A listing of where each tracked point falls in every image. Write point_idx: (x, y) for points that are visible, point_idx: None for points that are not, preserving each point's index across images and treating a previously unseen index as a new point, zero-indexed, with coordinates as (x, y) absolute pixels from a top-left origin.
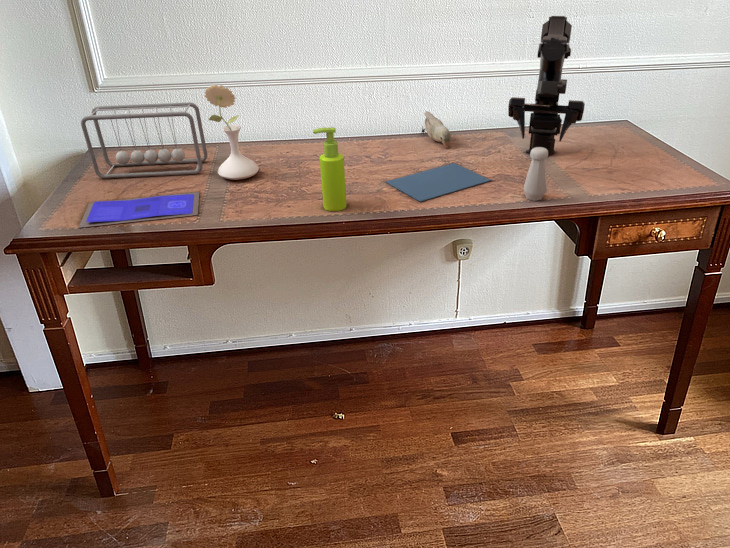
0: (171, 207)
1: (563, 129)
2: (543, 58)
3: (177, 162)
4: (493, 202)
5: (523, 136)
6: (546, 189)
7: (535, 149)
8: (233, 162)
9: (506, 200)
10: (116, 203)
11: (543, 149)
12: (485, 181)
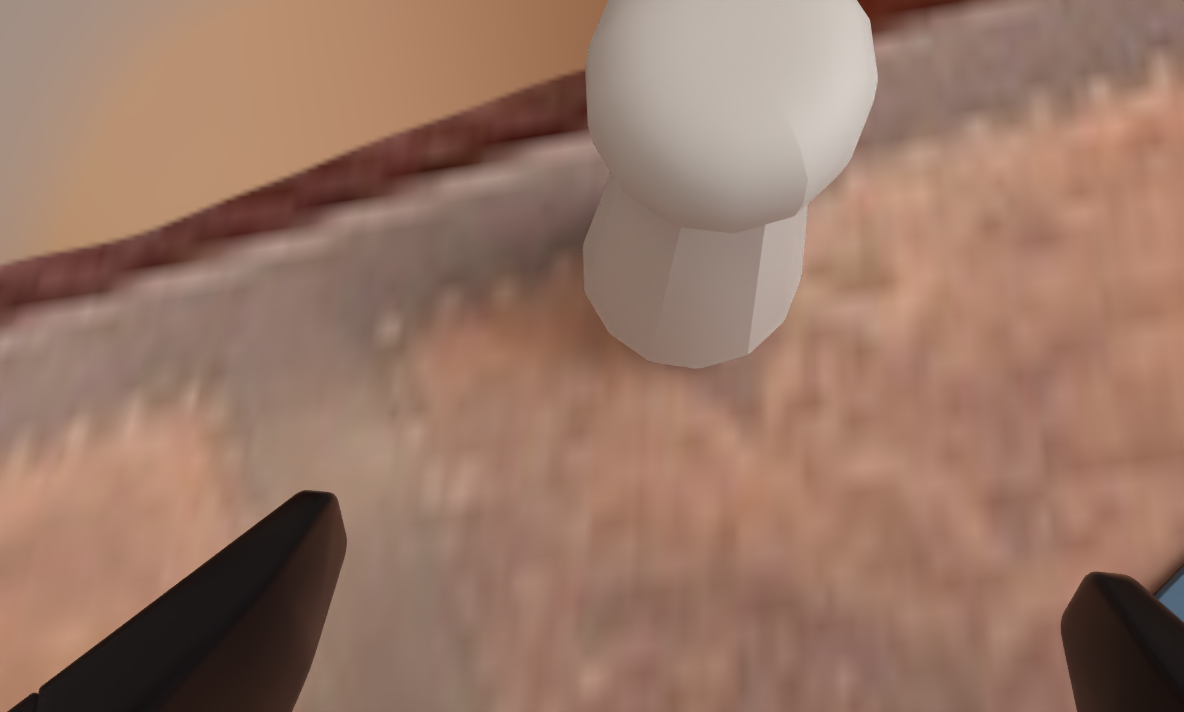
0: None
1: (156, 639)
2: None
3: None
4: (1030, 142)
5: (1112, 578)
6: (584, 241)
7: (813, 5)
8: None
9: (920, 197)
10: None
11: (672, 18)
12: (1173, 587)
